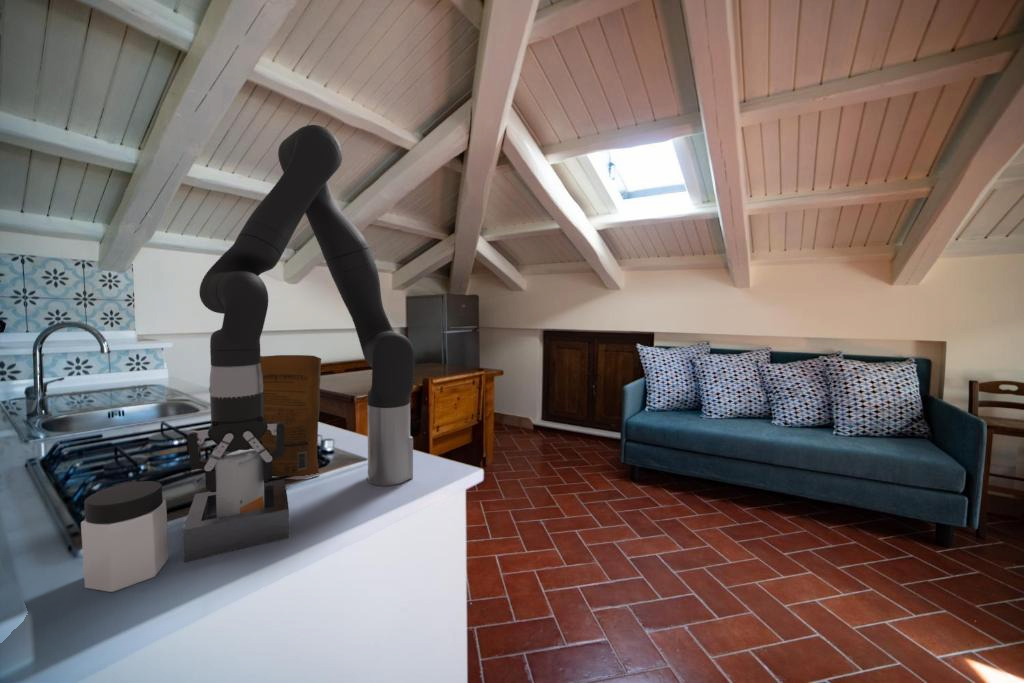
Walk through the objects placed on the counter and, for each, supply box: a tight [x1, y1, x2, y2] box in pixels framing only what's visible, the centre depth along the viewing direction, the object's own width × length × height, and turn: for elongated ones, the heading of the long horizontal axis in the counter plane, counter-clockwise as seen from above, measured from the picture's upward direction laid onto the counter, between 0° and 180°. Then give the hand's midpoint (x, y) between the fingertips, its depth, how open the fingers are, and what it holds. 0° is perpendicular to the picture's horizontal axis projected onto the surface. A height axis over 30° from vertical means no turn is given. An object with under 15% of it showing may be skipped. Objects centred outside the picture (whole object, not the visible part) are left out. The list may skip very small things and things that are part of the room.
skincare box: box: [215, 449, 264, 518], centre depth 72 cm, size 6×4×12 cm
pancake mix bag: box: [250, 354, 322, 476], centre depth 94 cm, size 7×19×28 cm, turn 87°
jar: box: [80, 480, 170, 593], centre depth 60 cm, size 9×8×12 cm
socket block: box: [182, 479, 290, 563], centre depth 72 cm, size 14×14×5 cm
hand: (240, 485), depth 72 cm, fingers closed on skincare box, 7 cm apart
